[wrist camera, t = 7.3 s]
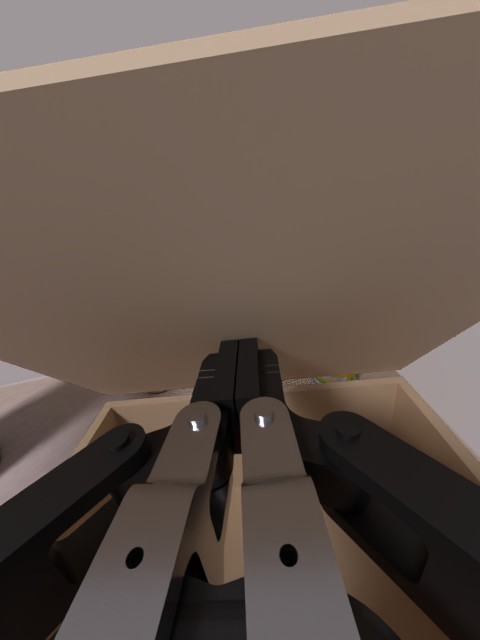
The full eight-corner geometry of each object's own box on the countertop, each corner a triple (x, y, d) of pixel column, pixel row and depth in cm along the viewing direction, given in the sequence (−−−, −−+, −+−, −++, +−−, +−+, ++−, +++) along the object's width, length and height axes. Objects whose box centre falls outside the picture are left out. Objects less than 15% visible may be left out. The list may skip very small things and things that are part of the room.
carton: (694, 1087, 7) (1396, 1497, 2) (-35, 1030, 8) (-447, 1227, 4) (384, 475, 21) (402, 376, 17) (145, 490, 22) (106, 401, 18)
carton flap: (1187, -110, 2) (1085, -119, 3) (-538, 182, 4) (-486, 156, 4) (400, 369, 16) (397, 360, 17) (106, 395, 18) (108, 386, 18)
